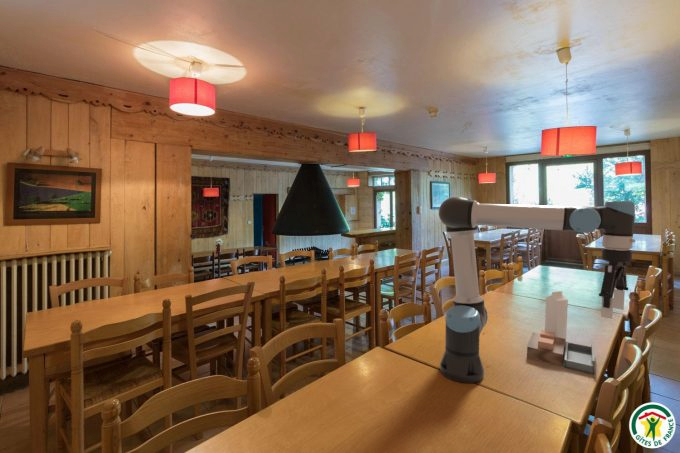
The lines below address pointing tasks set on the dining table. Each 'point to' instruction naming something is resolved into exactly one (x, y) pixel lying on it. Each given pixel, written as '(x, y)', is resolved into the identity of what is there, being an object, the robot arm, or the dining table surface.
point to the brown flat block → (546, 350)
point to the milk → (556, 314)
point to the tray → (579, 357)
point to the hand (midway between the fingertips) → (612, 313)
